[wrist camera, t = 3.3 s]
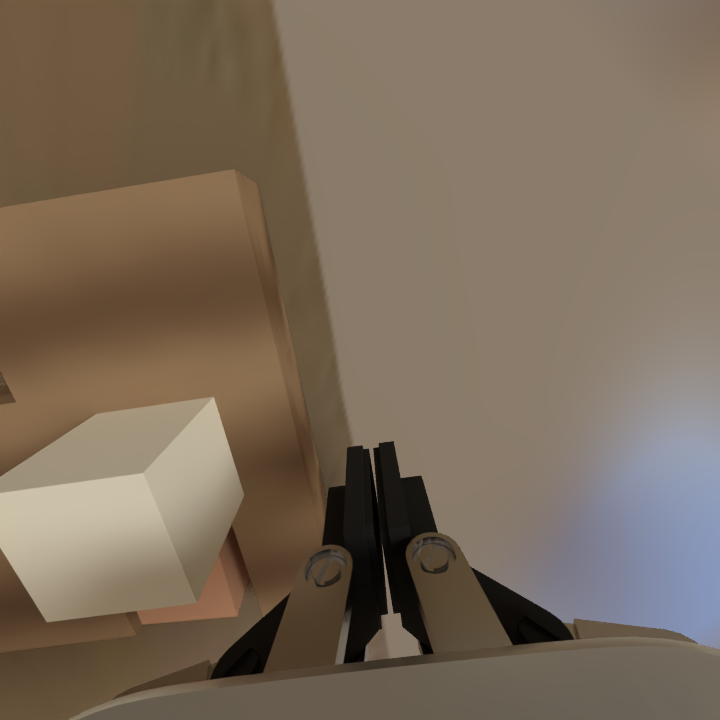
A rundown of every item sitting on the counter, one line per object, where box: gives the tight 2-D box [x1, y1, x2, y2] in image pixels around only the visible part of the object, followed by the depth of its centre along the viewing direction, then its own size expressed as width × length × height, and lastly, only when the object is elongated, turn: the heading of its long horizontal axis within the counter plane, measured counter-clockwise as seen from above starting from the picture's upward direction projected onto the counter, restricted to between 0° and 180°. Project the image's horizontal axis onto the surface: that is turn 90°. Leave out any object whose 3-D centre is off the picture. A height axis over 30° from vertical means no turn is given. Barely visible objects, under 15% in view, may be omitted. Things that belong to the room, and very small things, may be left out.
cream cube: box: [0, 397, 244, 622], centre depth 13 cm, size 5×5×5 cm
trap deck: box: [0, 169, 327, 653], centre depth 16 cm, size 21×25×5 cm
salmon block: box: [137, 525, 249, 625], centre depth 19 cm, size 5×5×4 cm
